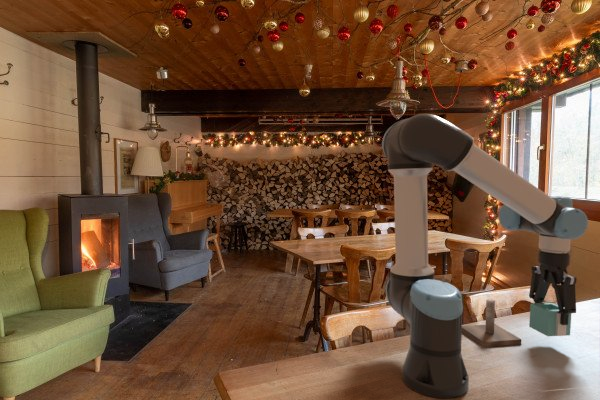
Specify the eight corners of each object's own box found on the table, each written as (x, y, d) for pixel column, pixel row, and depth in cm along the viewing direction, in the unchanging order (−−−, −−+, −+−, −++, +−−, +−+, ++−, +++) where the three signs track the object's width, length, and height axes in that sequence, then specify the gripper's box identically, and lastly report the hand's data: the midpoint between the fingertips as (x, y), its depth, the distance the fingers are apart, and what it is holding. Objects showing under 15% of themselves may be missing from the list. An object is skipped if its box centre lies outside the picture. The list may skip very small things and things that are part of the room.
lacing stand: (483, 347, 113) (484, 308, 112) (460, 330, 125) (461, 295, 124) (521, 344, 115) (522, 305, 114) (494, 328, 127) (495, 293, 126)
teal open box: (547, 336, 108) (549, 311, 108) (529, 326, 115) (530, 303, 115) (570, 335, 110) (571, 310, 109) (550, 325, 116) (551, 302, 116)
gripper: (597, 257, 102) (591, 343, 103) (539, 244, 121) (535, 317, 123) (571, 258, 101) (566, 345, 102) (517, 244, 120) (513, 317, 122)
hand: (549, 329), depth 112 cm, fingers closed on teal open box, 7 cm apart
